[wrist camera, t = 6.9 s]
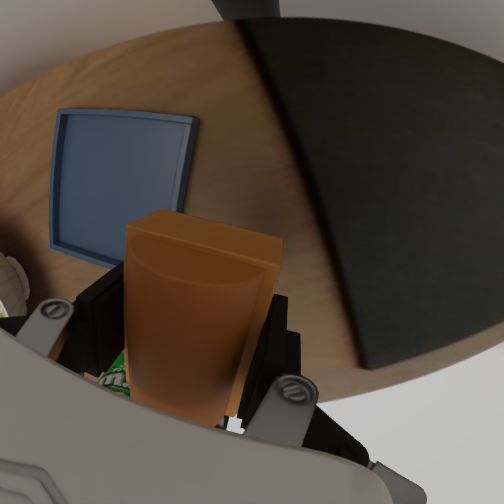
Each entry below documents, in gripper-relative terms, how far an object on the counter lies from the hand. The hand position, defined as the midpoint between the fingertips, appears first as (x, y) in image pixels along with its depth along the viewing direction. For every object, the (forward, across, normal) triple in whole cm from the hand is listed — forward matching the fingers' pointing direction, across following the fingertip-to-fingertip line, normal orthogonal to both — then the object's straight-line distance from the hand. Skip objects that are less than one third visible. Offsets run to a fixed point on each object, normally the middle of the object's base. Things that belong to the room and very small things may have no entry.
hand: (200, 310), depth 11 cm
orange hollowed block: (+1, 0, 0) cm, 1 cm away
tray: (+15, +14, 0) cm, 20 cm away
